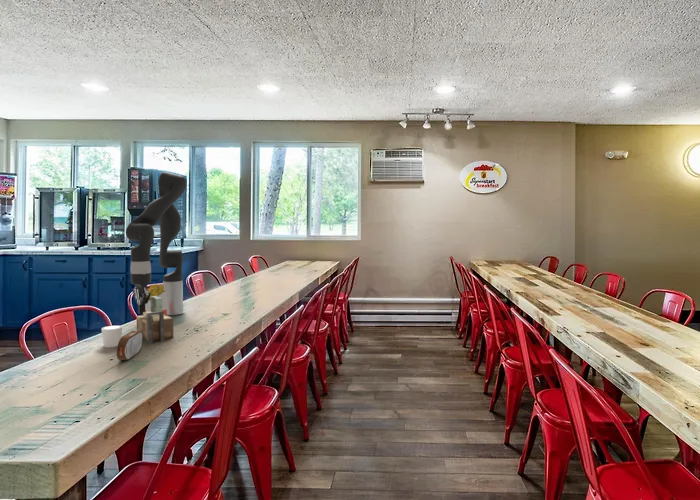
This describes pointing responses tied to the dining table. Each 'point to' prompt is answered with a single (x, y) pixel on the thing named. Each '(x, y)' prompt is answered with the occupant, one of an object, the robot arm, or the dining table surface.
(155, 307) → the lid
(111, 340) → the white cup
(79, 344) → the dining table surface
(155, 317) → the key
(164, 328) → the toolbox
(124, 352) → the tin
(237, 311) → the dining table surface
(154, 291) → the french fries container
